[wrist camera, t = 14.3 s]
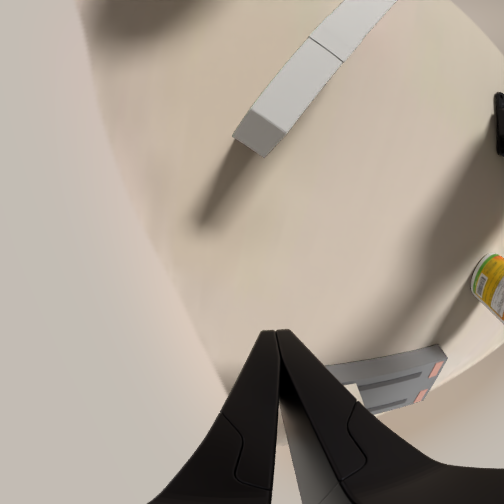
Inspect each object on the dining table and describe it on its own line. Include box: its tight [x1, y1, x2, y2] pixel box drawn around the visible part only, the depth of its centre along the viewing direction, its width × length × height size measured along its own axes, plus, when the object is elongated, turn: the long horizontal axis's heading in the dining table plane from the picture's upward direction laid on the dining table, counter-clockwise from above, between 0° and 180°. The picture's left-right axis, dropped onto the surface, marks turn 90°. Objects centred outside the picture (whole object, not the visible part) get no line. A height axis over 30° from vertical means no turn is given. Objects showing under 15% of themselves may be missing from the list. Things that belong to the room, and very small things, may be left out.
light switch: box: [232, 0, 397, 158], centre depth 11 cm, size 2×12×8 cm, turn 145°
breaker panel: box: [325, 344, 448, 415], centre depth 26 cm, size 17×8×3 cm, turn 92°
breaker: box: [344, 383, 365, 407], centre depth 21 cm, size 2×3×4 cm
